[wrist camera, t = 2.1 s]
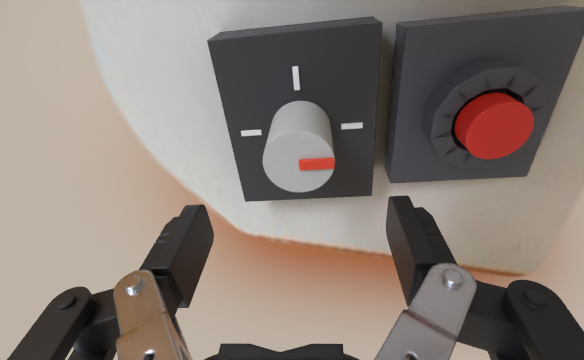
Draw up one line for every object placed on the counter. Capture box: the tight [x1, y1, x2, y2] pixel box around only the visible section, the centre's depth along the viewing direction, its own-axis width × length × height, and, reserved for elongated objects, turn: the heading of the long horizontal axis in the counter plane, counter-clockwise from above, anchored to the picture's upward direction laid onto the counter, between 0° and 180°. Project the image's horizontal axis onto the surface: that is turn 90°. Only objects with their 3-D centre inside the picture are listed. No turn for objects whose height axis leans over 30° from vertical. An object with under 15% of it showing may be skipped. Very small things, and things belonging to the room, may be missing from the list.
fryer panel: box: [207, 16, 382, 201], centre depth 21 cm, size 12×10×3 cm
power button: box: [455, 92, 534, 159], centre depth 18 cm, size 4×4×2 cm
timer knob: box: [263, 101, 335, 192], centre depth 18 cm, size 4×4×5 cm
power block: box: [385, 6, 584, 183], centre depth 20 cm, size 11×10×4 cm
